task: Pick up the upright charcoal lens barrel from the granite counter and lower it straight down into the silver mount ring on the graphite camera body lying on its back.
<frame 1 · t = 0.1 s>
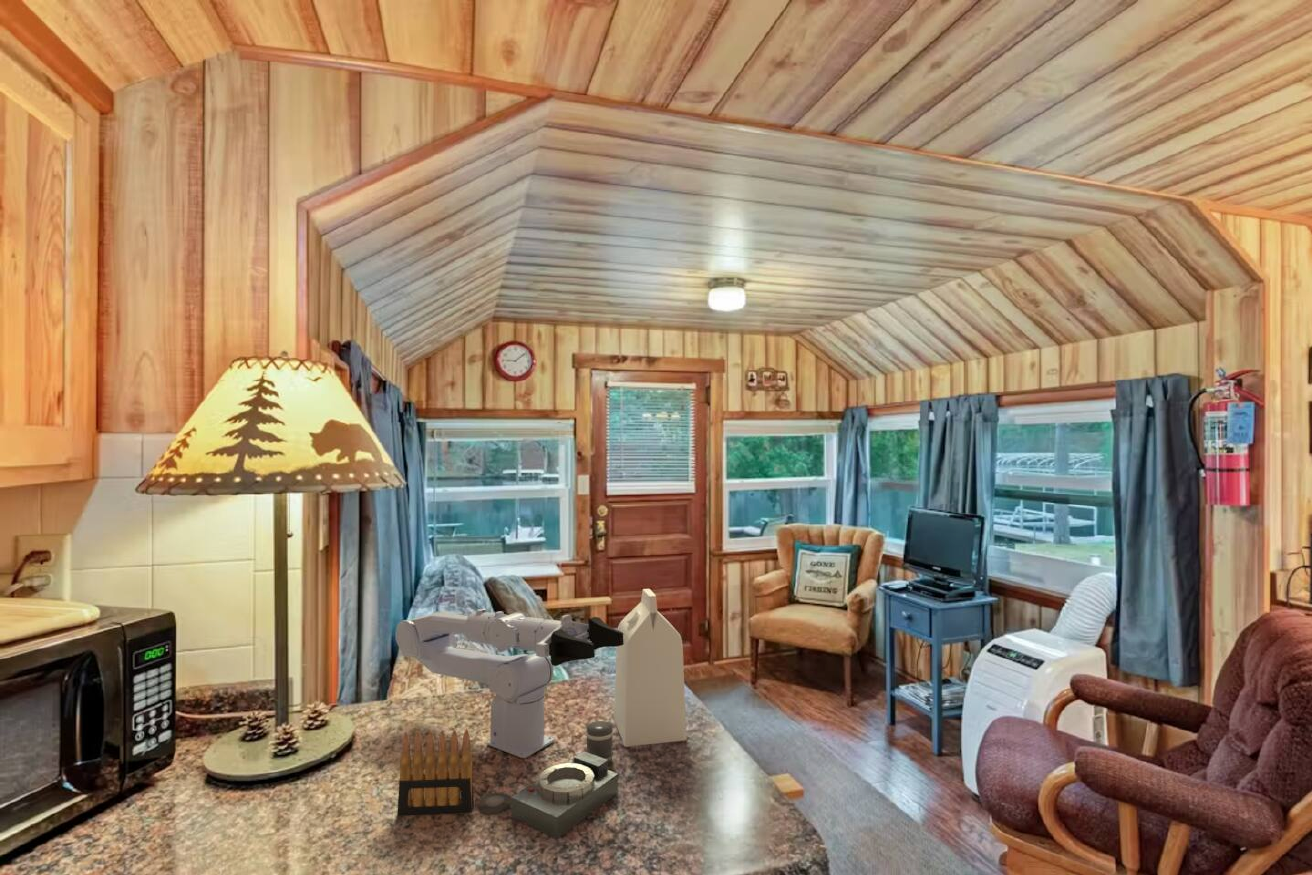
hand: (608, 644, 107), 22 cm above the kitchen counter, tool horizontal, fingers open, 7 cm apart
ammunition clip: (436, 812, 97), on the kitchen counter
lens cap: (494, 807, 99), on the kitchen counter
lens: (599, 761, 112), on the kitchen counter
camera body: (566, 804, 99), on the kitchen counter
milk: (648, 729, 124), on the kitchen counter
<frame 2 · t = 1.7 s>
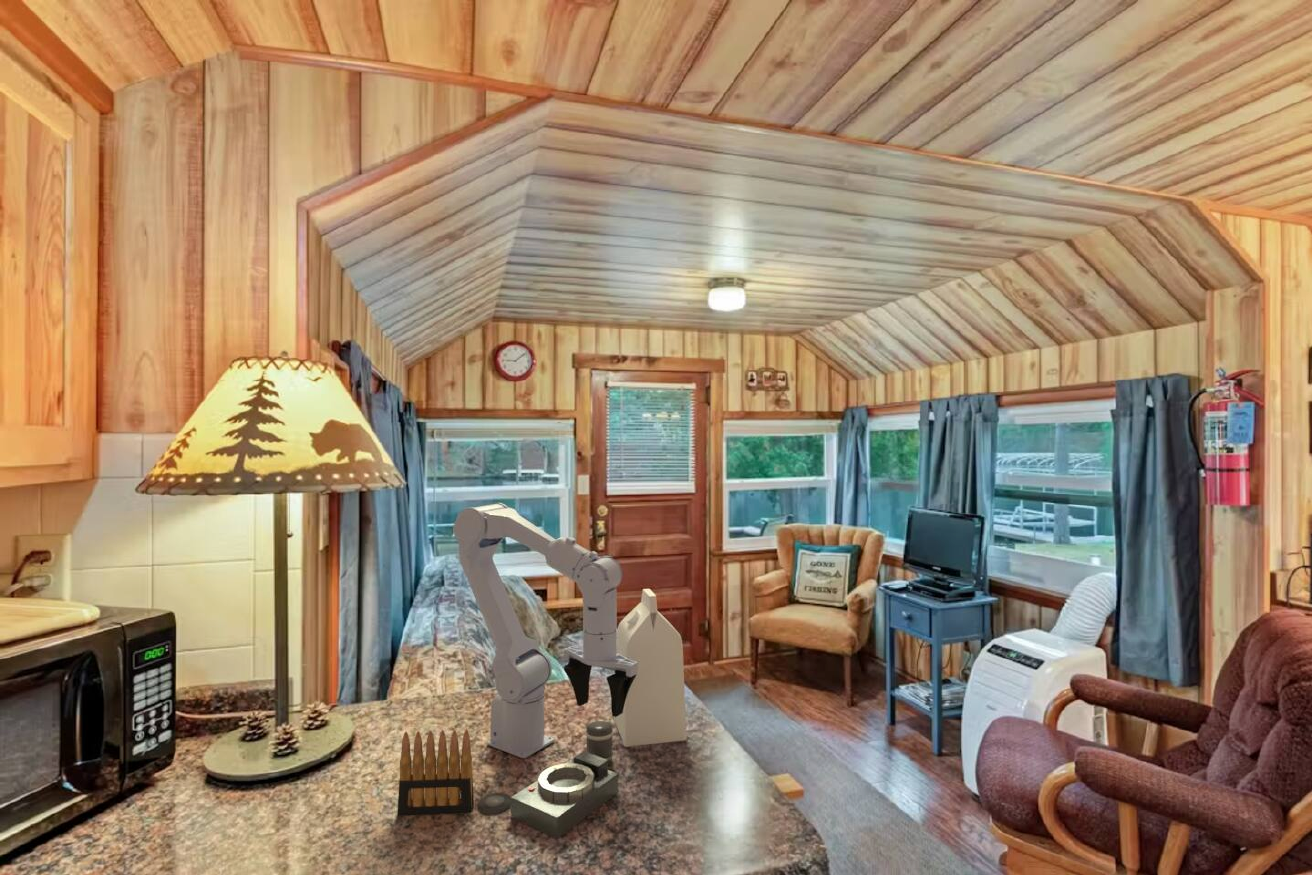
hand: (599, 709, 112), 9 cm above the kitchen counter, tool pointing down, fingers open, 7 cm apart
nothing on the kitchen counter moved.
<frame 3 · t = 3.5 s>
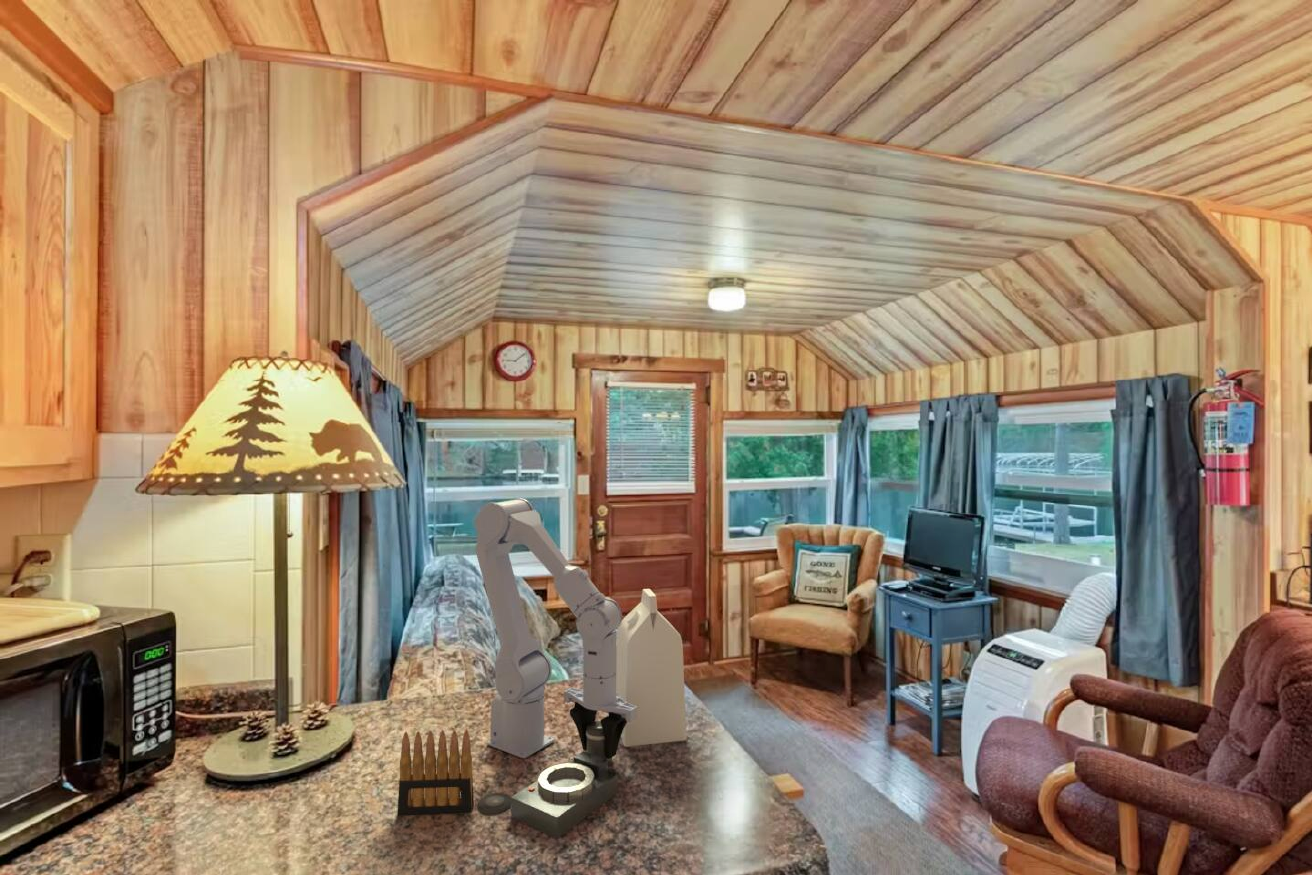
hand: (599, 751, 112), 2 cm above the kitchen counter, tool pointing down, fingers closed on lens, 4 cm apart
lens: (599, 761, 112), on the kitchen counter, touching gripper
everything else where it was.
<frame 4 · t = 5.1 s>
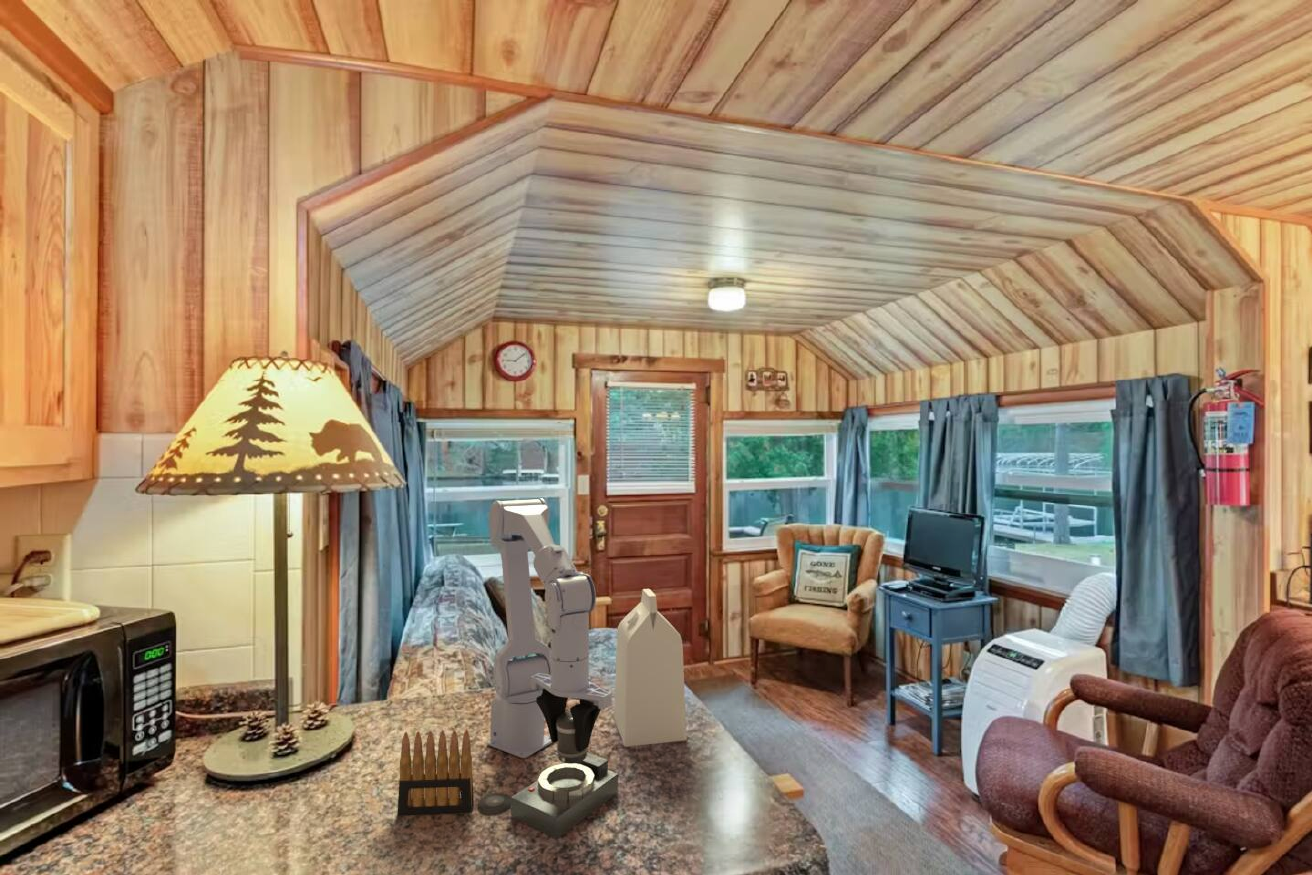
hand: (569, 744, 100), 9 cm above the kitchen counter, tool pointing down, fingers closed on lens, 4 cm apart
lens: (572, 755, 100), point 7 cm above the kitchen counter, touching gripper
everything else where it was.
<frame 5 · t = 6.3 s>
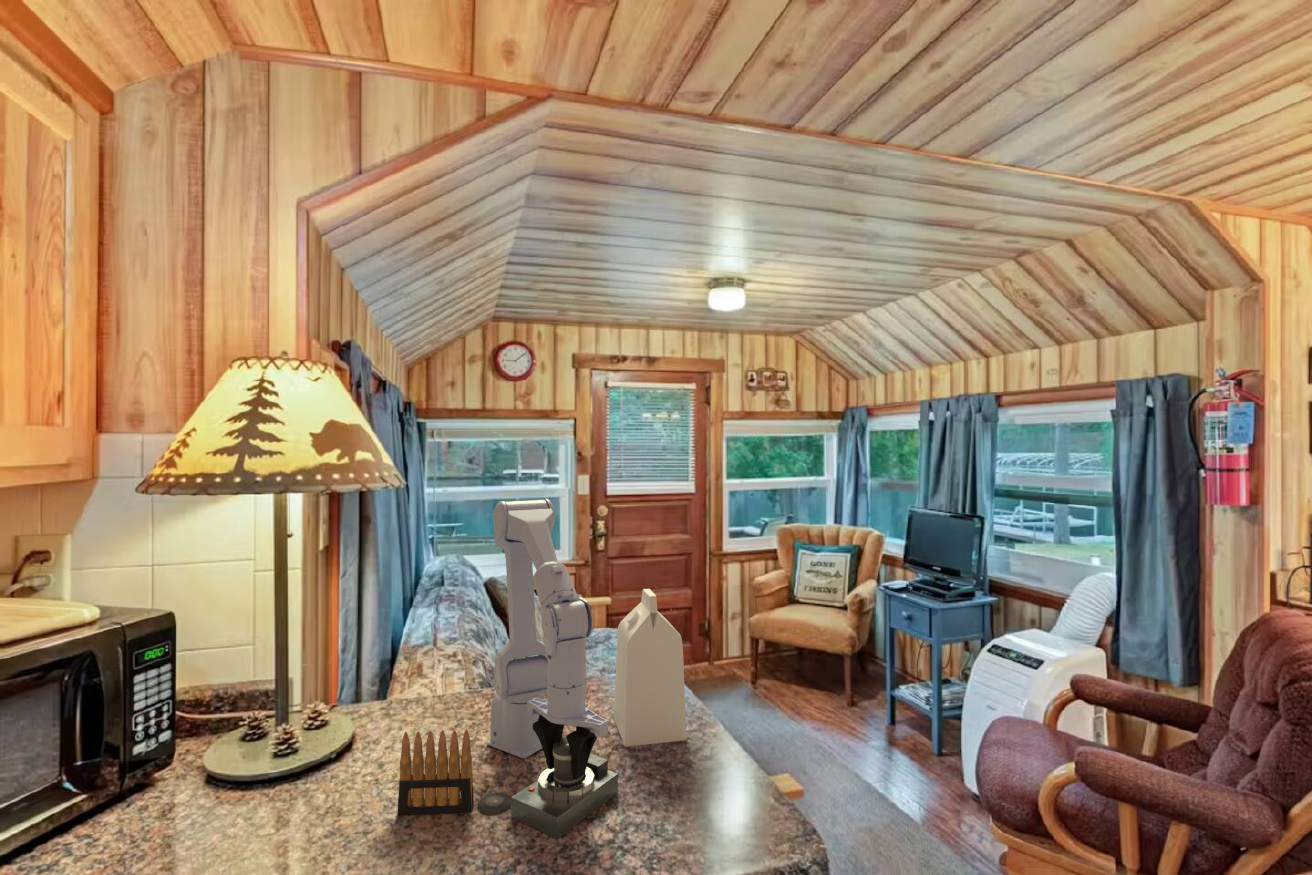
hand: (566, 771, 99), 5 cm above the kitchen counter, tool pointing down, fingers closed on lens, 4 cm apart
lens: (569, 781, 99), point 3 cm above the kitchen counter, touching camera body, gripper
everything else where it was.
when the fingers open (5 cm above the kitchen counter, at t = 6.9 s): lens stays where it is, resting on camera body.
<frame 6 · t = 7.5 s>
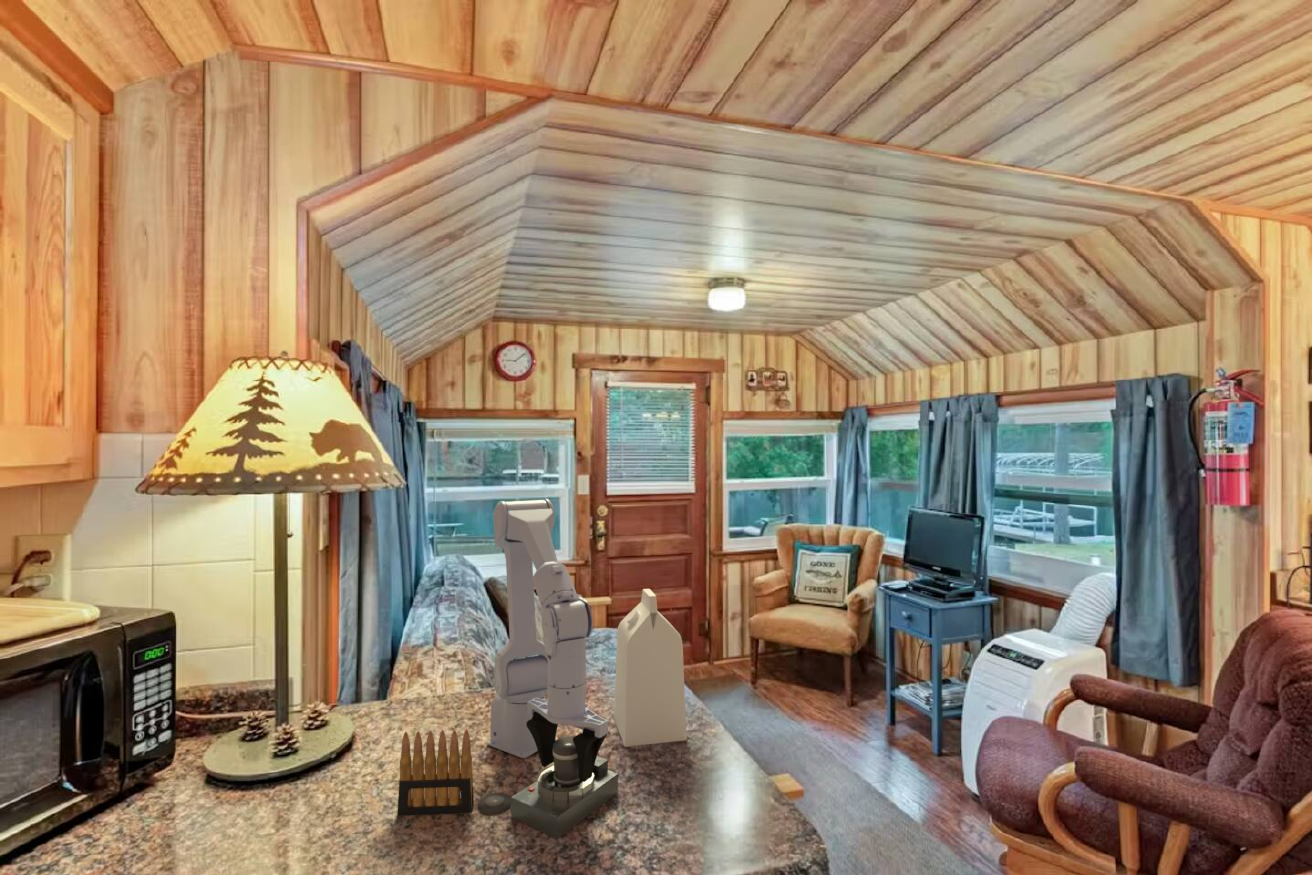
hand: (566, 771, 99), 5 cm above the kitchen counter, tool pointing down, fingers open, 7 cm apart
lens: (569, 781, 99), point 3 cm above the kitchen counter, touching camera body
everything else where it was.
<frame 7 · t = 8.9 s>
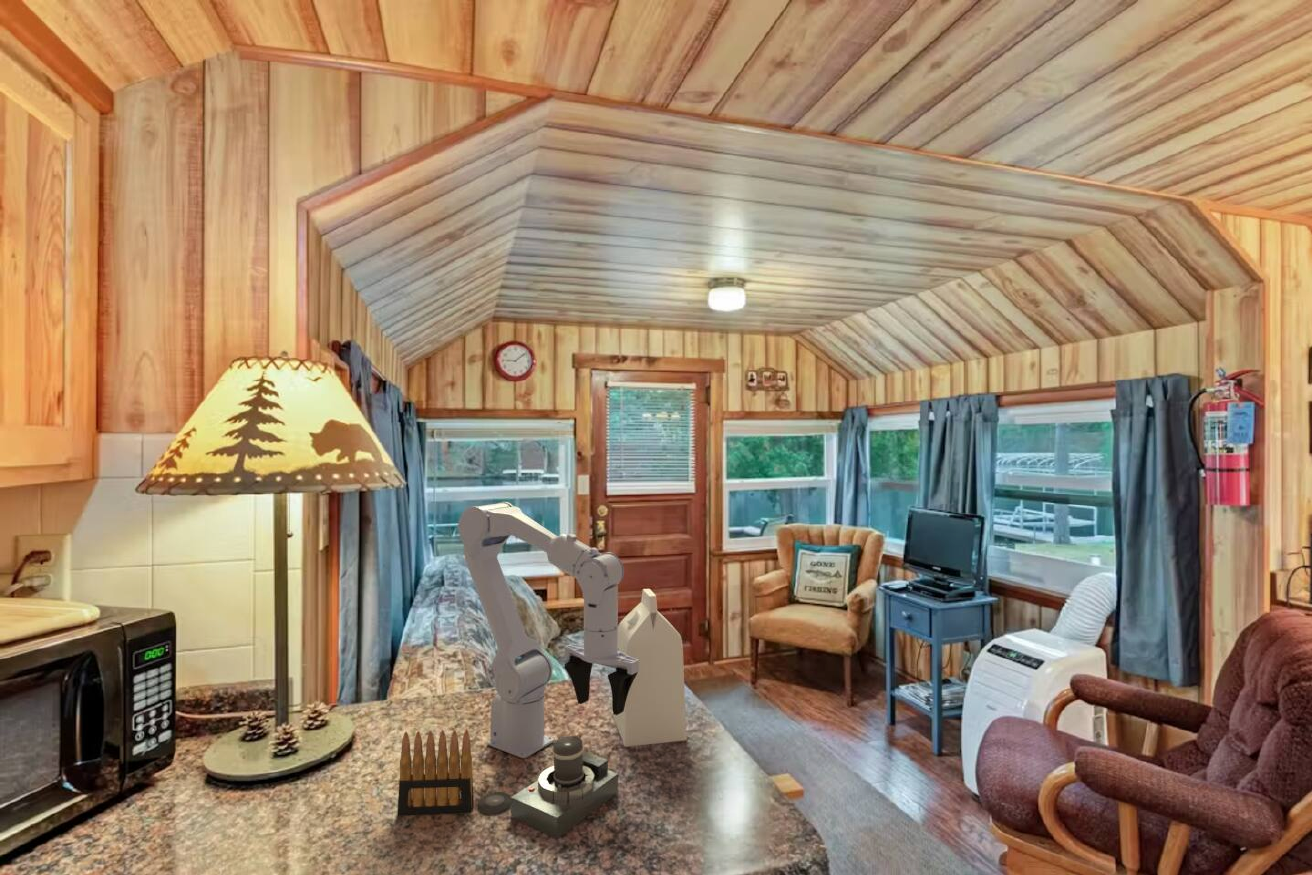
hand: (600, 707, 110), 10 cm above the kitchen counter, tool pointing down, fingers open, 7 cm apart
nothing on the kitchen counter moved.
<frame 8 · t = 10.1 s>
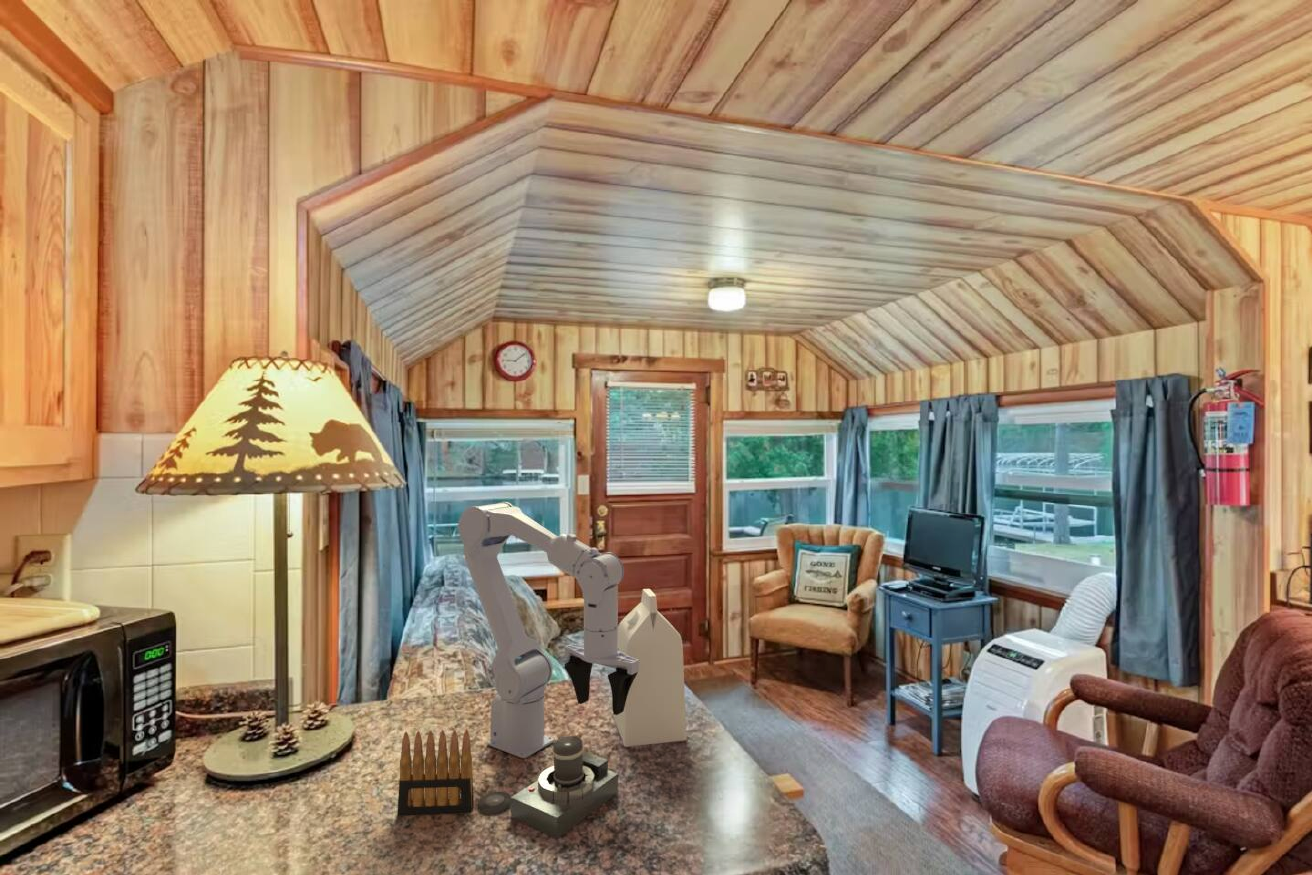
hand: (600, 707, 110), 10 cm above the kitchen counter, tool pointing down, fingers open, 7 cm apart
nothing on the kitchen counter moved.
at the end: lens 0.7 cm off-centre on the camera body, point 3.1 cm above the camera body's base; lens tilted 3°; the gripper is holding nothing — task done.
